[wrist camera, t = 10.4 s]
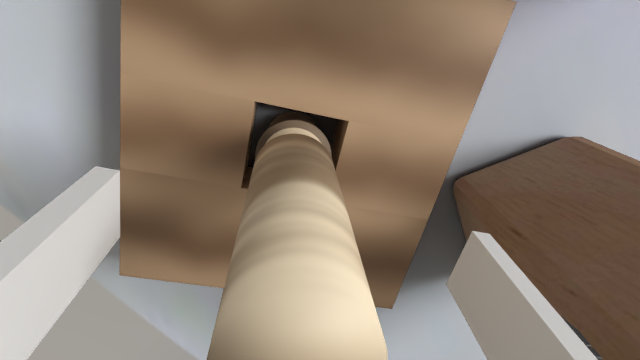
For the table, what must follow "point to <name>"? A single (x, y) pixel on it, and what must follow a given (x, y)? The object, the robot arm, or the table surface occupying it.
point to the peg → (296, 260)
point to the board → (298, 94)
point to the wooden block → (568, 233)
